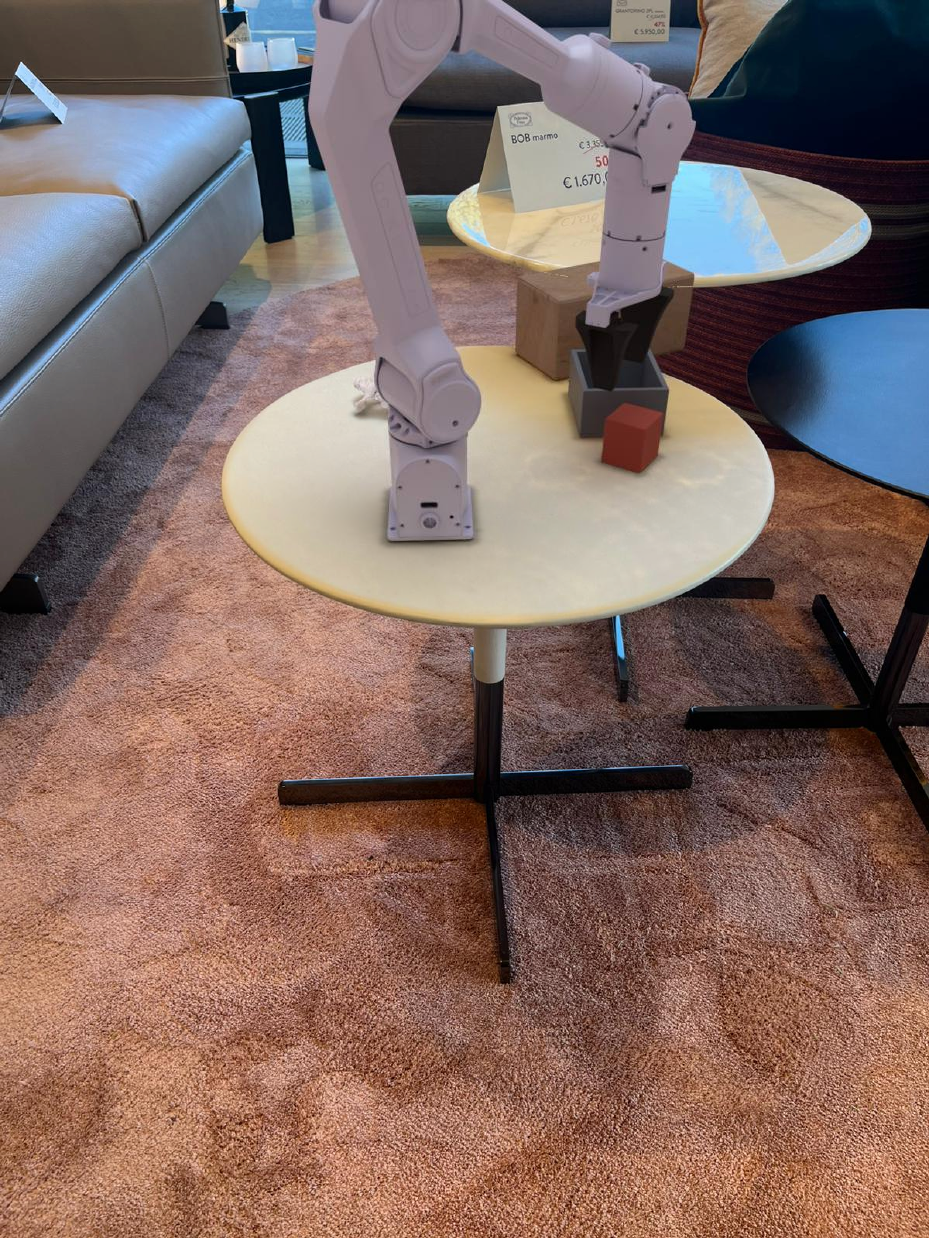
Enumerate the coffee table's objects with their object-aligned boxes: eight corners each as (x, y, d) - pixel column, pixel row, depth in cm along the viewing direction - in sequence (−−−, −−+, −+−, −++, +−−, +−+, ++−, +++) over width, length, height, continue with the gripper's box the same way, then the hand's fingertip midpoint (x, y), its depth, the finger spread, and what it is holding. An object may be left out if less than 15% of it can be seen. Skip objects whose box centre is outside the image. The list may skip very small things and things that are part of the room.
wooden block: (515, 275, 113) (647, 250, 121) (513, 353, 120) (639, 325, 127) (559, 300, 107) (696, 272, 114) (554, 382, 113) (685, 350, 120)
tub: (663, 436, 102) (669, 389, 98) (579, 437, 101) (583, 391, 98) (644, 392, 110) (650, 348, 107) (567, 393, 110) (570, 349, 107)
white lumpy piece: (422, 363, 108) (420, 382, 103) (422, 398, 111) (421, 419, 105) (353, 363, 108) (348, 382, 103) (355, 398, 110) (350, 419, 105)
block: (658, 455, 98) (664, 412, 95) (639, 473, 95) (645, 429, 92) (619, 445, 100) (624, 402, 97) (600, 462, 97) (604, 418, 94)
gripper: (624, 207, 90) (611, 341, 99) (559, 247, 81) (550, 392, 89) (693, 217, 87) (674, 355, 96) (634, 259, 78) (618, 408, 86)
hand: (619, 374), depth 92 cm, fingers open, 7 cm apart
